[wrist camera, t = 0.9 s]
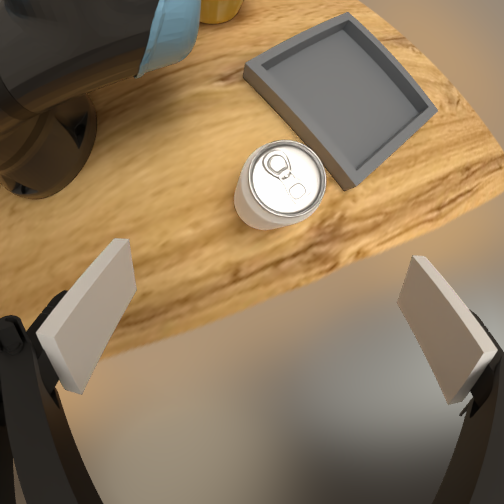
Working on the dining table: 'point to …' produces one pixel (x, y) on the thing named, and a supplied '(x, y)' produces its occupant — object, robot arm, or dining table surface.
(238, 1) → the plant pot
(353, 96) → the tray
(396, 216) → the dining table surface
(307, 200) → the can
